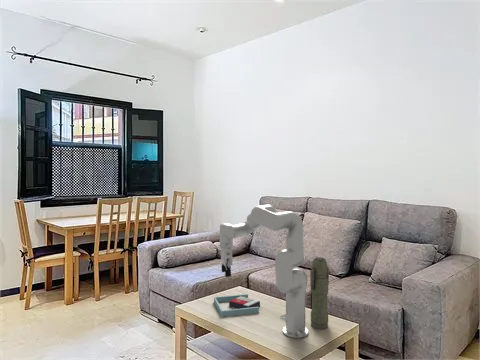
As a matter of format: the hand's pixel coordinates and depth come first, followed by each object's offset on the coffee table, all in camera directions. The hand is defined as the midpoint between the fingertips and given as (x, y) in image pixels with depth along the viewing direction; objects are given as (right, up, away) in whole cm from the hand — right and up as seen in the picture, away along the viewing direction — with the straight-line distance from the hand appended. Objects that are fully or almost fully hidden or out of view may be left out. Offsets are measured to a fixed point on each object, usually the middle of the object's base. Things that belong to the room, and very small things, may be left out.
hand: (226, 274), depth 217 cm
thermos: (+49, -21, -24) cm, 58 cm away
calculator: (+11, -20, +3) cm, 23 cm away
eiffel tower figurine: (+37, -21, -12) cm, 44 cm away
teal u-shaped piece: (+6, -20, +2) cm, 21 cm away
